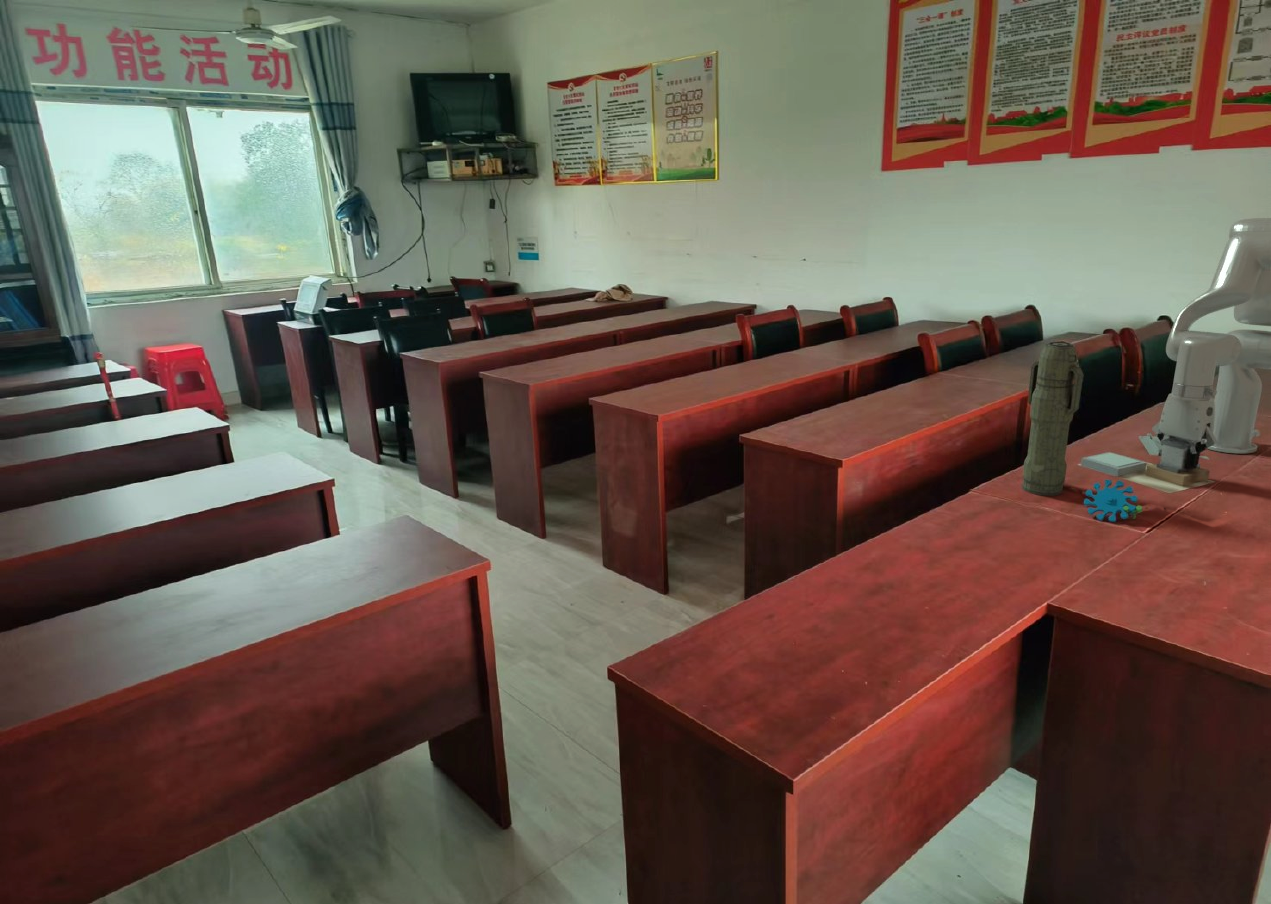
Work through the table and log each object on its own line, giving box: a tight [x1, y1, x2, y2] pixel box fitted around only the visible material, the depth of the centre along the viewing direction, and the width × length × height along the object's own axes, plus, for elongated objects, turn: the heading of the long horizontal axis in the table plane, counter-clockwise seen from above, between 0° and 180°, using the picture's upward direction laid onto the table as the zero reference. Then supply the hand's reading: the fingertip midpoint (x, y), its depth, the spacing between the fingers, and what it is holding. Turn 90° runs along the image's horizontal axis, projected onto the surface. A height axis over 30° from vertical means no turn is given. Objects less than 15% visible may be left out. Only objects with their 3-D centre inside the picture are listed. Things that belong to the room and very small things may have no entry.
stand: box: [1145, 462, 1211, 487], centre depth 190 cm, size 9×9×2 cm
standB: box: [1080, 451, 1147, 478], centre depth 198 cm, size 10×10×2 cm
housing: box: [1156, 437, 1205, 474], centre depth 189 cm, size 8×5×7 cm, turn 113°
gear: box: [1083, 479, 1143, 523], centre depth 172 cm, size 11×6×10 cm
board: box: [1077, 454, 1216, 494], centre depth 195 cm, size 16×24×1 cm, turn 23°
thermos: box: [1021, 341, 1084, 497], centre depth 184 cm, size 9×12×35 cm
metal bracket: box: [1138, 432, 1210, 460], centre depth 209 cm, size 14×6×15 cm
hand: (1178, 464), depth 189 cm, fingers closed on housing, 5 cm apart
